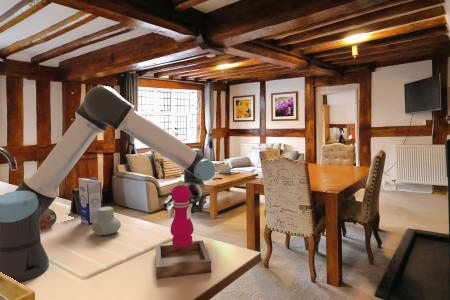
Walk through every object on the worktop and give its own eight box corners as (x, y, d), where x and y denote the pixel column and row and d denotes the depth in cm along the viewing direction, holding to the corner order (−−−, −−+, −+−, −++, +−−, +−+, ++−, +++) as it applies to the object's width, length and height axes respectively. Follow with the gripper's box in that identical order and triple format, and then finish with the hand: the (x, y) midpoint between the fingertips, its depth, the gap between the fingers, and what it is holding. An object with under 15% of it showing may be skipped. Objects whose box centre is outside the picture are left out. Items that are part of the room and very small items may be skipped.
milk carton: (80, 222, 139) (78, 177, 136) (95, 218, 144) (93, 175, 141) (88, 225, 134) (86, 179, 132) (103, 221, 139) (101, 177, 137)
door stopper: (70, 212, 153) (68, 188, 152) (82, 209, 158) (80, 185, 156) (79, 215, 148) (78, 190, 146) (91, 212, 152) (90, 188, 151)
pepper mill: (172, 249, 95) (170, 183, 93) (169, 240, 102) (167, 179, 100) (196, 246, 97) (194, 182, 95) (191, 237, 104) (190, 177, 102)
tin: (14, 234, 125) (12, 214, 124) (14, 232, 127) (12, 212, 126) (57, 226, 134) (55, 207, 133) (56, 224, 136) (54, 205, 135)
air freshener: (89, 233, 126) (87, 209, 125) (106, 227, 133) (105, 204, 131) (106, 239, 120) (105, 213, 119) (124, 232, 127) (123, 208, 125)
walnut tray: (156, 278, 91) (156, 267, 90) (155, 254, 106) (155, 244, 106) (211, 272, 94) (211, 261, 94) (203, 249, 110) (203, 240, 109)
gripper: (214, 204, 116) (209, 226, 93) (166, 204, 117) (148, 226, 94) (214, 184, 115) (208, 202, 92) (165, 184, 116) (147, 202, 93)
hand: (178, 214), depth 93 cm, fingers closed on pepper mill, 5 cm apart
